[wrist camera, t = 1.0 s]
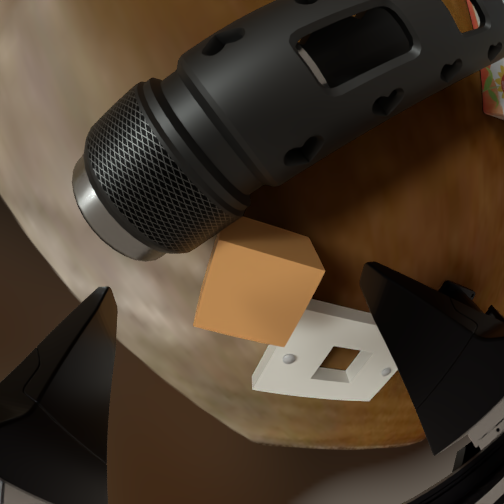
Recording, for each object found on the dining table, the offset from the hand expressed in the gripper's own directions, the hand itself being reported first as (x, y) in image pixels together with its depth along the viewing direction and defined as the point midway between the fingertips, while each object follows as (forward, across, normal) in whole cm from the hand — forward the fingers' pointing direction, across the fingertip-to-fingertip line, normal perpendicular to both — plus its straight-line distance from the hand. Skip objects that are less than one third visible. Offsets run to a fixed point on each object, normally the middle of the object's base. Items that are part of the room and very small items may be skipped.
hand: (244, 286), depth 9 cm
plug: (+12, -3, +6) cm, 14 cm away
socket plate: (+10, -12, +19) cm, 24 cm away
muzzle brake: (+13, -6, -8) cm, 17 cm away
